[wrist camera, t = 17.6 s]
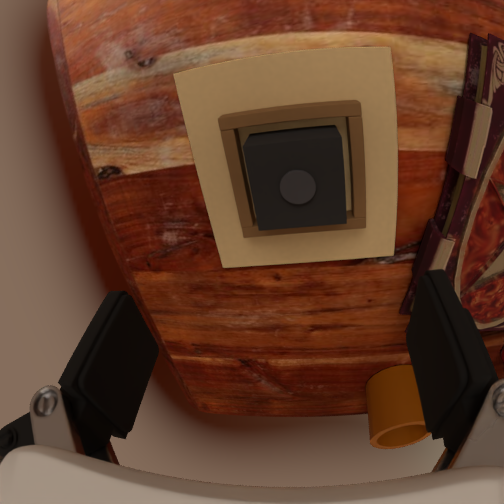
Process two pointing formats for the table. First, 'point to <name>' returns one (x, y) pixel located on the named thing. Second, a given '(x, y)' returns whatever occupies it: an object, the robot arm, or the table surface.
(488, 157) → the book
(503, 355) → the soda can
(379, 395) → the mug
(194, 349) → the table surface
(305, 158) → the black square block
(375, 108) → the base pad
